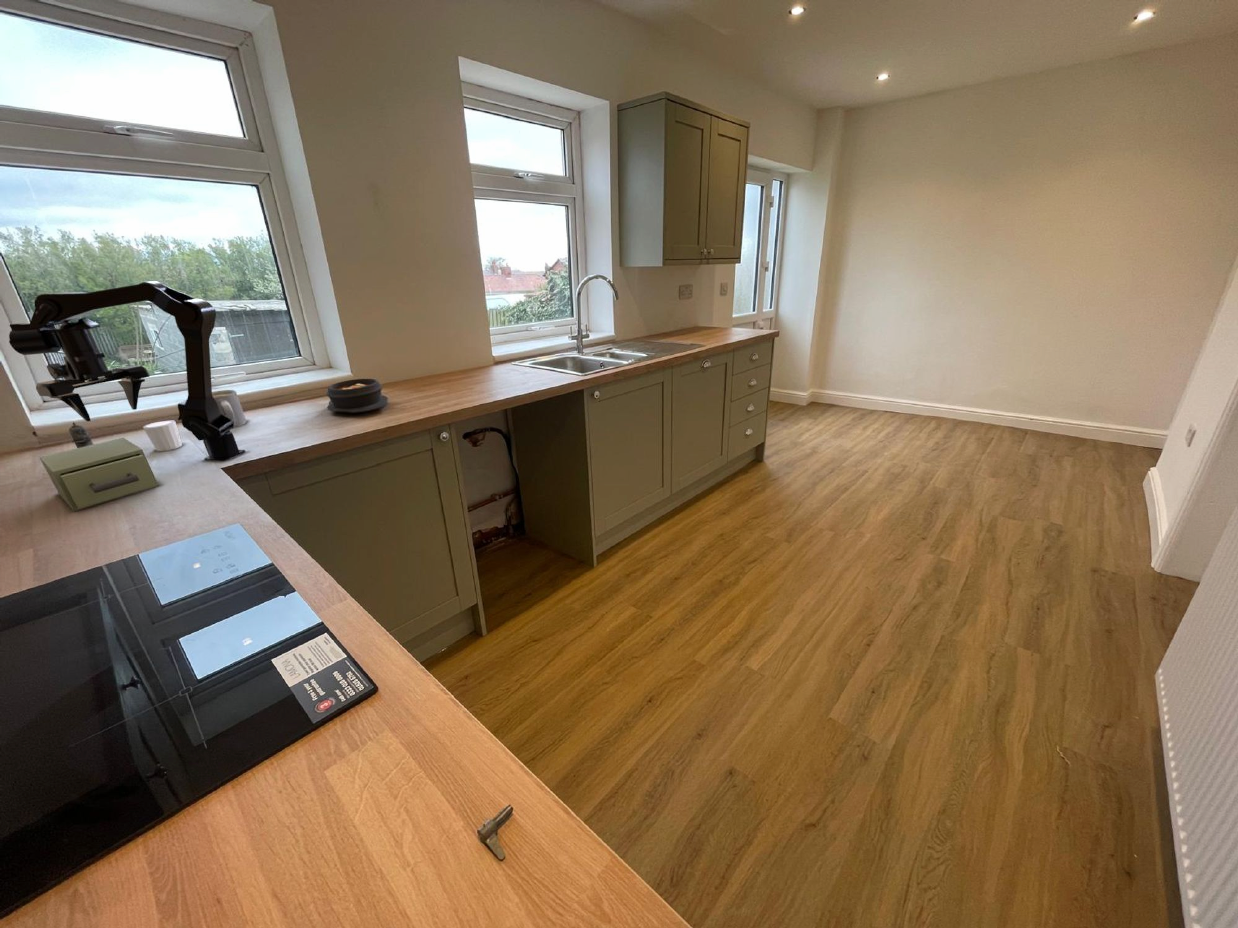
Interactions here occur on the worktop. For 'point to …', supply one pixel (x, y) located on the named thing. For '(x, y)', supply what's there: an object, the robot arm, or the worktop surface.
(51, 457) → the cabinet
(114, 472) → the drawer
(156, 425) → the white cup
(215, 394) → the coffee mug
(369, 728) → the worktop surface
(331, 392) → the casserole
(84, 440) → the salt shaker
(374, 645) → the worktop surface
